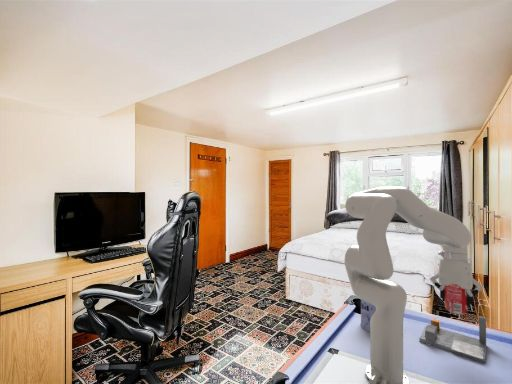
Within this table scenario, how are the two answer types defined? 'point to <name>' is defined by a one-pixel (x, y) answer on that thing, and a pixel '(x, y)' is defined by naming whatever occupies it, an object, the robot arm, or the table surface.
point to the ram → (432, 330)
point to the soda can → (455, 299)
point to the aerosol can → (366, 314)
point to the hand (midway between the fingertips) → (455, 302)
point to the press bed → (461, 342)
